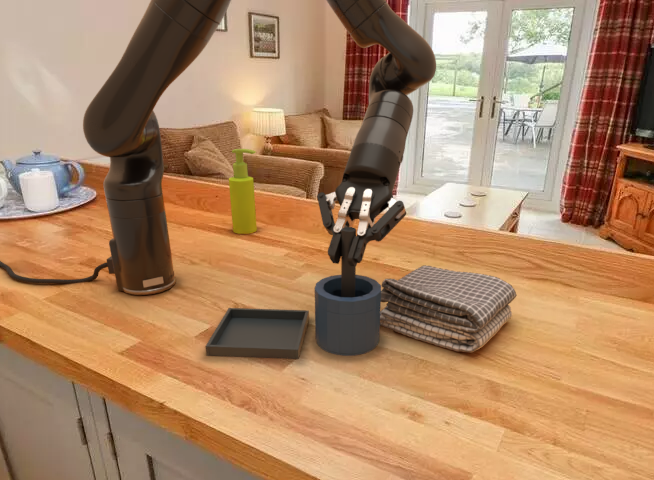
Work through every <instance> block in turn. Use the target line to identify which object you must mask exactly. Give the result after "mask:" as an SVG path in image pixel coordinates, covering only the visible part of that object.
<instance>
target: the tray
mask: <svg viewBox="0 0 654 480" xmlns="http://www.w3.org/2000/svg"><path fill="white" fill-rule="evenodd" d="M309 320H310V310H307V309H280V308H279V309H278V308H277V309H276V308H246V307H245V308H244V307H243V308H242V307H228V309H227V310H226V311H225V314H224V315H223V316H222V318H221V320H220V322H219V323H218V325H217V326H216V328H215V330H214V331H213V333H212V335H211V336H210V338H209V340H208V341H207V342H206V344H205V354H206V356H207V357H228V358H230V357H231V358H233V357H234V358H256V359H257V358H259V359H285V360H287V359H288V360H299V359H300V355H301V351H302V348H303V343H304V340H305V336H306V332H307V328H308V324H309Z"/></svg>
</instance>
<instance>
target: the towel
mask: <svg viewBox="0 0 654 480" xmlns="http://www.w3.org/2000/svg"><path fill="white" fill-rule="evenodd" d="M516 298H517V292H516V290H515V288H514V286H512V284H510V283H509V282H507V281H506V280H503V279H501V278H500V277H497V276H494V275H488V274H484V273H477V272H471V271H470V272H467V271H456V270H450V269H446V268H441V267H436V266H432V265H421V266H420V267H418V268H415V269H414V270H412V271H410V272H408V274H405V275H404V276H402V277H401V278H400V279H395V278H384V280H383V281H382V282H381V303H386V306H385V307H384V308H383V309H382V310H381V309H380V327H384V328H387V329H389V330H392V331H393V332H396V333H398V334H402V335H404V336H407V337H409V338H413V339H415V340H419V341H421V342H425V343H428V344H431V345H435V347H441V348H444V349H448V350H452V351H454V352H462V353H474V352H476V351H477V350H480V348H483V347H484V346H485V345H486V344H487V343H488V342H489V341H490V340H491V339H492V338H493V337H494V336H495V335H496V334H497V333H498V332H499V331H500V330H501V329H502V327H503V326H504V325H505V324H506V323H507V322H509V321H510V320H511V319H512V317H513V312H512V307H511V305H510V304H511V303H512V302H513V301H514V300H515V299H516Z"/></svg>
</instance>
